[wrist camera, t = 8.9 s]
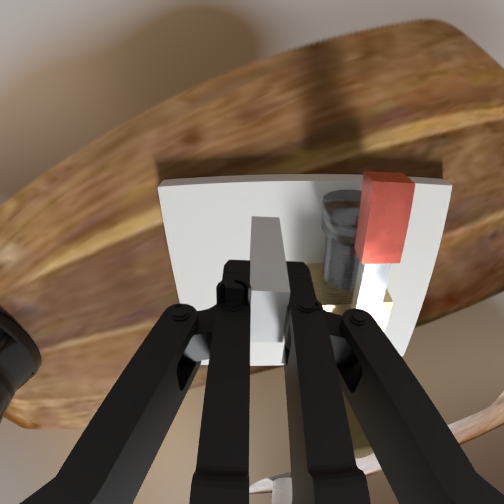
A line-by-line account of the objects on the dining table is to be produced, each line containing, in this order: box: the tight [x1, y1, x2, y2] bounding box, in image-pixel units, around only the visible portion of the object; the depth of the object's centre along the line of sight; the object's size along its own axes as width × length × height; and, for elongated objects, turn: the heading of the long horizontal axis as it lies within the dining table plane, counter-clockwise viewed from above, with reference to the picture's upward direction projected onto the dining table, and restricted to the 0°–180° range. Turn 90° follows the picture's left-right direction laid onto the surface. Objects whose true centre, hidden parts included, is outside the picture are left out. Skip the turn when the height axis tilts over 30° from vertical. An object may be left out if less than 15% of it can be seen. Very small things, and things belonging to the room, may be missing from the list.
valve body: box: [307, 190, 393, 392], centre depth 30 cm, size 7×22×8 cm, turn 3°
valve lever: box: [351, 171, 415, 322], centre depth 23 cm, size 17×3×2 cm, turn 2°
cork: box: [342, 392, 373, 458], centre depth 43 cm, size 6×6×11 cm
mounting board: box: [158, 174, 452, 366], centre depth 35 cm, size 28×24×2 cm
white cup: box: [271, 477, 292, 504], centre depth 66 cm, size 8×8×10 cm
